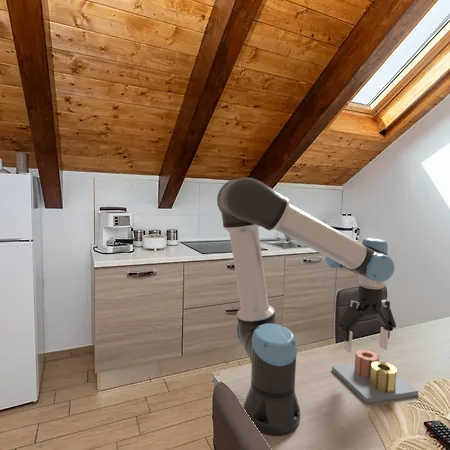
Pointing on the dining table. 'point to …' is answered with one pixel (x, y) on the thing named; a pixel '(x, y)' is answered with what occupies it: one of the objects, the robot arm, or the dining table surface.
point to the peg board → (366, 390)
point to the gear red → (364, 362)
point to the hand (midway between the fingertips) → (365, 349)
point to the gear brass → (383, 377)
